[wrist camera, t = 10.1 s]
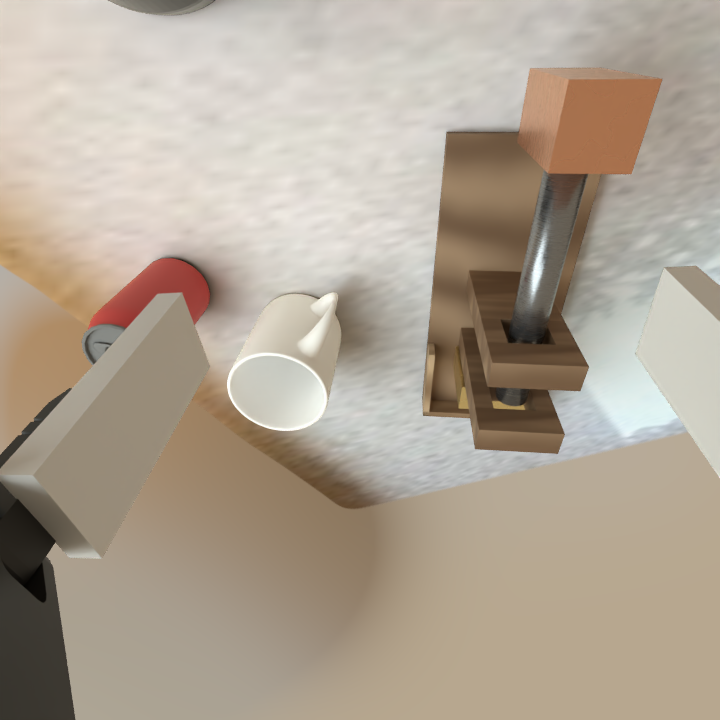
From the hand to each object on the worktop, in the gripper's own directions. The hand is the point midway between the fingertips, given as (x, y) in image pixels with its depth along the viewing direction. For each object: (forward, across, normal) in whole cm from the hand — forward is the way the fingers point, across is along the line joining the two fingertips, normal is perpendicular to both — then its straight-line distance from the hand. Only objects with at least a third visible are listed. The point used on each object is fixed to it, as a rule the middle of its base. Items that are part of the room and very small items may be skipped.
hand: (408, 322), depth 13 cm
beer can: (+28, -23, -12) cm, 38 cm away
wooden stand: (+27, +8, -14) cm, 32 cm away
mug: (+28, -10, -16) cm, 34 cm away
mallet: (+21, +8, -7) cm, 24 cm away
